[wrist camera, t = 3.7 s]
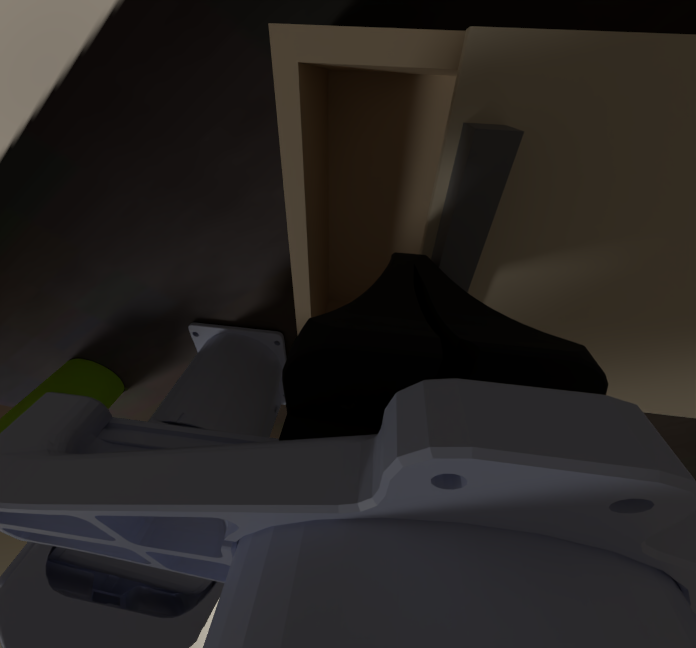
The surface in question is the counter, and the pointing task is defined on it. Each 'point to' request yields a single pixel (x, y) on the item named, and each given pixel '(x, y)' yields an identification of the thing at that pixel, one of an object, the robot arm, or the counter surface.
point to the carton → (357, 149)
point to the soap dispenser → (73, 386)
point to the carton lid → (578, 197)
